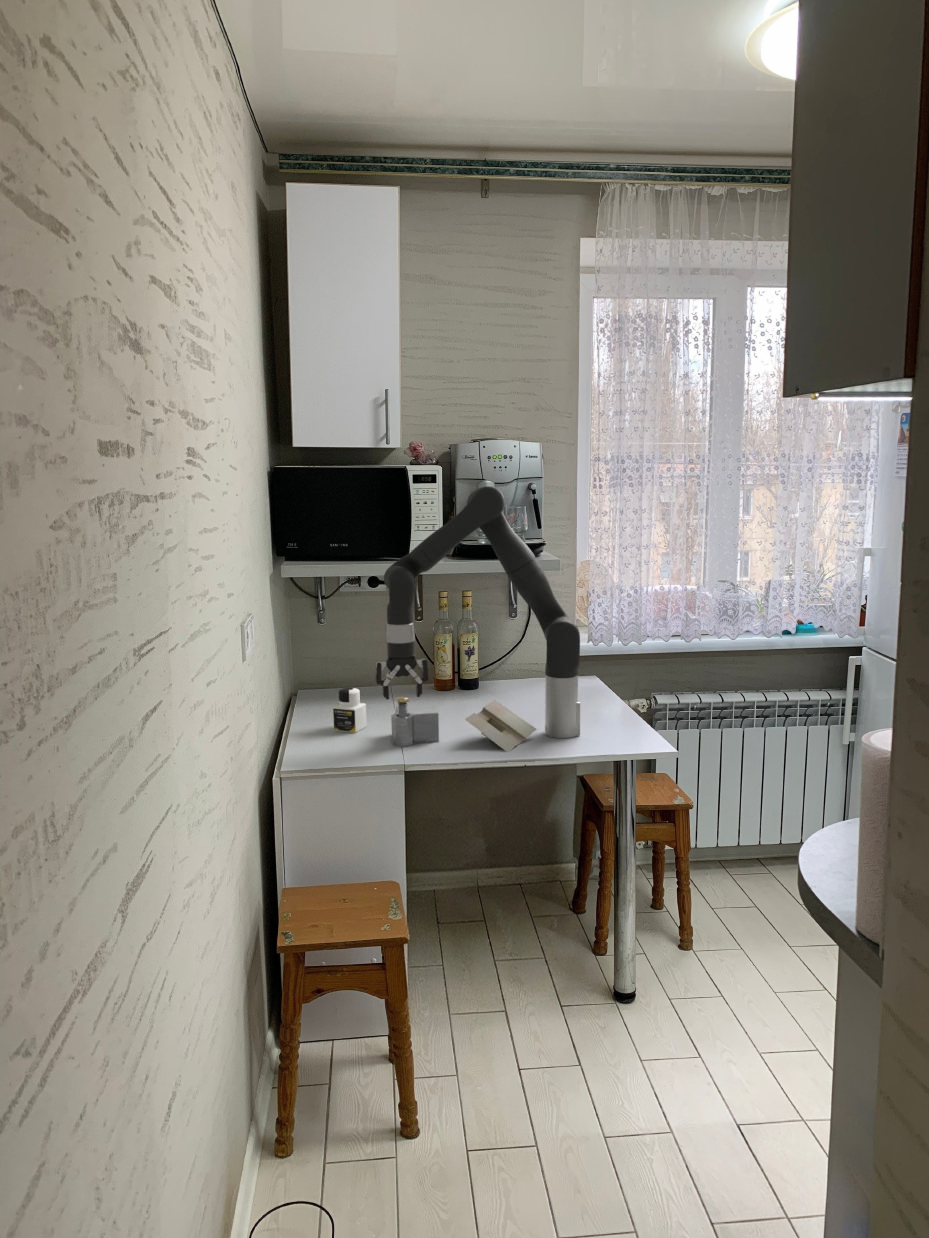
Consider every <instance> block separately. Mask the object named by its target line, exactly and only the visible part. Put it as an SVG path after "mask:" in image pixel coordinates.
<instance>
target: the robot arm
mask: <svg viewBox="0 0 929 1238" xmlns="http://www.w3.org/2000/svg"><path fill="white" fill-rule="evenodd" d="M505 503H506V502H505V496H504V495H503V493H502V492H501V491H500V489H498V488H496V487H494V486H482V487H479V488H477V489H475V490H473V491H472V492H471V493H470V494H469V495H468V497H467V499H466V505H465V507H463V509H462V510H461V511H459V513H457V514H456V515H455V516H454V517H453V518H451V519H450V520H449V521H448V522H446V523H445V524H444V525H442V526H441V527H439V528H438V529H436V530H435V531H434V532H432V533H431V534H430V535H429V536H427V537H426V538H425V539H423V540H422V541H421V542H420V543H419V544H418V545H417V546H415V547H414V548H413V549H412V550H411V551H410V552H409V553H407V554H405V555H404V556H402V557H401V558H399V559H398V560H396V561H395V562H394V563H393V564H392V565H390V566H389V567H388V568H387V569H386V570H385V573H384V574H383V583H384V585H385V587H386V588H388V592H389V593H388V597H389V599H388V600H389V602H388V603H387V607H386V652H387V655H386V656H387V658H386V659H387V660H386V661H380V660H377V661H376V662H375V682H376V684H377V685H379V686H382V695H383V697H384V698H385V699H386V700H390V694H389V693H390V691H389V689H390V688H389V683H390V682H391V681H392V679H394V677H396V678H400V677H409V676H410V675H411V676H412V678H413V679H414V680H415V681H416V682H415V695H416V697H417V698H421V697H420V696H421V695H423V683H425V682H428V681H429V669H428V661H427V659H426V658H425V657H422V658H421V659H416V644H415V643H416V642H415V641H416V640H415V639H416V635H415V627H414V611H413V609H414V607H413V605H414V604H413V603H414V598H415V597H414V595H415V578H417V577H418V576H419V575H421V574H423V573H426V572H428V571H429V570H431V569H433V567H435V566H436V565H437V564H438V563H440V561H442V560H443V559H444V558H445V557H446V556H447V555H448V554H450V552H452V551H453V549H455V547H457V546H458V545H459V544H460V543H462V542H463V541H464V540H465V539H466V538H467V537H468V536H470V535H471V534H472V533H474V532H475V531H476V530H478V529H480V530H481V532H482V534H484V536H485V537H486V539H487V540H488V542H489V543H490V546H491V548H492V550H493V551H494V553H495V555H496V557H497V559H498V560H499V563H500V564H501V566H502V568H503V570H504V572H505V574H506V575H507V578H508V579H509V581H510V582H511V584H512V585H513V587H514V589H515V590H516V591H517V593H518V594H519V595H520V596H521V598H522V599H523V600H524V602H525V603H526V604H527V606H528V607H530V609H531V611H532V612H533V614H534V615H535V618H536V619H537V622H538V623H539V626H540V628H541V631H542V633H543V635H544V639H545V640H546V659H545V660H546V661H545V667H544V669H545V672H544V673H545V674H544V675H545V679H544V680H545V681H544V682H545V685H544V688H545V690H544V691H545V693H544V695H545V696H544V697H545V699H544V700H545V701H544V704H545V706H544V713H545V714H544V720H545V722H544V732H545V733H544V734H545V735H546V736H547V737H549V738H550V737H551V738H556V739H568V738H569V739H570V738H575V737H578V736H581V702H580V701H579V669H580V661H581V660H580V659H581V658H580V657H581V634H580V630H579V628H578V627H577V625H576V624H575V622H574V621H573V620H572V619H571V618H570V617H569V616H568V615H567V613H566V612H565V611H564V609H563V608H562V606H561V604H560V603H559V602H558V600H557V599H556V597H555V595H554V592H553V590H552V588H551V585H550V583H549V580H548V577H547V576H546V574H545V572H544V570H543V567H542V566H541V564H540V562H539V561H538V559H537V557H536V556H535V554H534V552H533V551H532V550H531V549H530V547H529V546H528V545H527V544H526V543H525V541H523V540H522V538H521V537H520V536H519V535H518V534H517V533H516V532H515V531H514V529H513V528H512V527H511V525H510V524H509V522H508V520H507V518H506V516H505V513H504V512H503V511H504V509H505V505H506V504H505ZM417 665H418V666H419V668H421V672H422V673H421V675H422V676H419V675H418V674H417V672H415V671H414V670H415V668H416V666H417ZM385 667H386V668H387V669H388V670H389V671H387V673H386V675H385V677H384V678H383V679H382V671H383V670H384V669H385Z"/></svg>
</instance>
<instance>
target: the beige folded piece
mask: <svg viewBox="0 0 929 1238" xmlns="http://www.w3.org/2000/svg"><path fill="white" fill-rule="evenodd" d="M464 720H465V721H466V722H468V723H469V724H470V725H471V726H473V727H474V728H476V729H477V730H478V731H479V732H480V734H481V735H483V736H484V737H485V738H487V739H488V740H489V741H492V742H494V743H495V744H497V746H499V747H500V748H502V750H504V751H505V752H509V751H511V750H512V749H513V748H515V747H517V746H519V744H521V743H523V741H524V740H525V739H526V738H527V737H529V736H531V734H533V733H534V732H536V731H538V729H537V728H536V727H535V726H533V725H532V724H530V723H529V722H527V721H526V720H524V719H523V718H522V717H521V716H519V715H518V714H517V713H514V712H513V711H512V710H510V709H509V708H507V706H505V705H503V704H502V703H500V702H499V701H497V700H496V699H495V700H493V701H491V702H490V703H488V704H486V705H485V706H483V707H482V710H480V711H479V712H477V713H475V712H473V713H471V714H470V715H468V716H466V718H464Z"/></svg>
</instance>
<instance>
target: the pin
mask: <svg viewBox="0 0 929 1238" xmlns="http://www.w3.org/2000/svg"><path fill="white" fill-rule="evenodd" d="M395 700H396V703H397V706H398V712H399V717H407V713H408V703H409V702H410V698H409V697H408V696H399V697H396V699H395Z"/></svg>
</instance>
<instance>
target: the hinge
mask: <svg viewBox="0 0 929 1238" xmlns="http://www.w3.org/2000/svg"><path fill="white" fill-rule="evenodd" d="M395 712H396V713H393V714H391V716H390V717H391V744H392V745H393V746H395V747H401V748H404V747H410V746H413V745H414V744H422V743H434V742H435V743H436V742H440V739H439V738H440V734H439V733H440V732H439V730H440V729H439V728H440V727H439V725H440V724H439V723H440V722H439V719H440V718H439V712H428V713H425V712H424V713H412V712H407V717H399V712H398V705H397V706H395Z"/></svg>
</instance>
